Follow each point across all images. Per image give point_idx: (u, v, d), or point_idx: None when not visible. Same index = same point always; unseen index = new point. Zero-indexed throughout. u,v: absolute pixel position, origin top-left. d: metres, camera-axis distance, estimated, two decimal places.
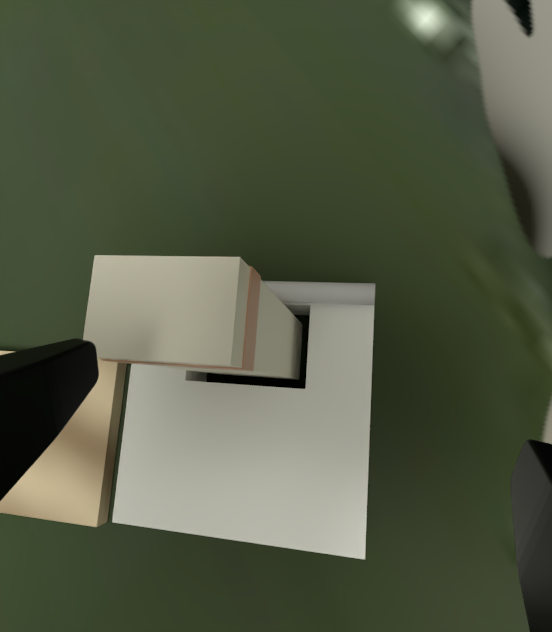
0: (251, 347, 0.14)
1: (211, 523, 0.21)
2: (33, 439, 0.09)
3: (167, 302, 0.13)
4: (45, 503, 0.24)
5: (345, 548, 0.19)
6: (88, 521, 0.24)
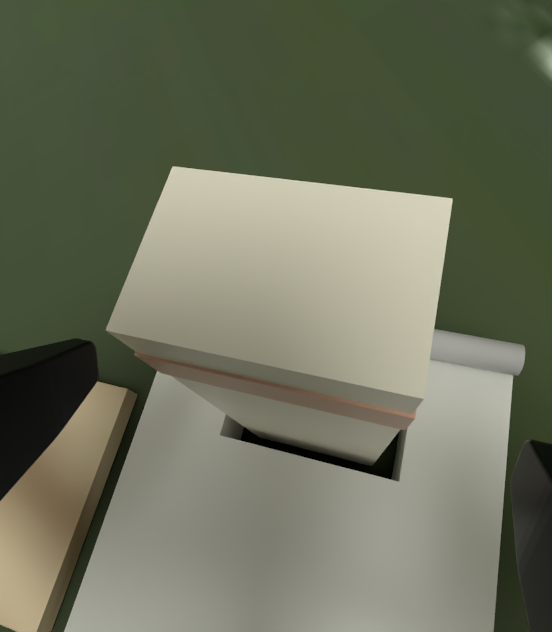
0: None
1: None
2: (33, 439, 0.09)
3: (298, 258, 0.06)
4: None
5: None
6: (24, 626, 0.16)
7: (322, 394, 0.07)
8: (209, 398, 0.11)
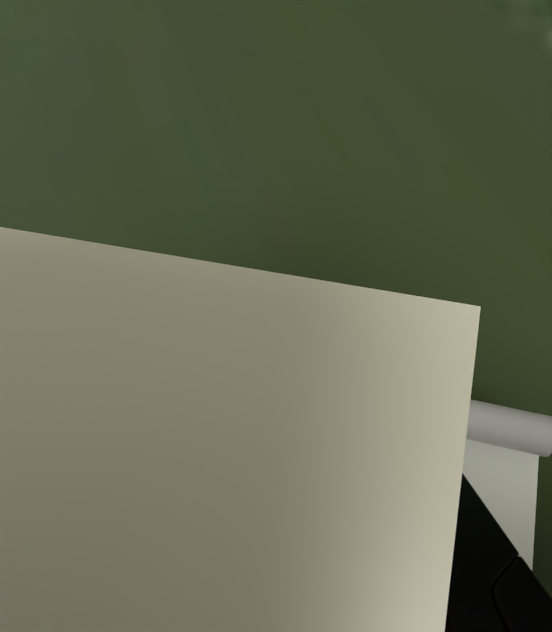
0: None
1: None
2: None
3: (172, 426, 0.03)
4: None
5: None
6: None
7: None
8: None
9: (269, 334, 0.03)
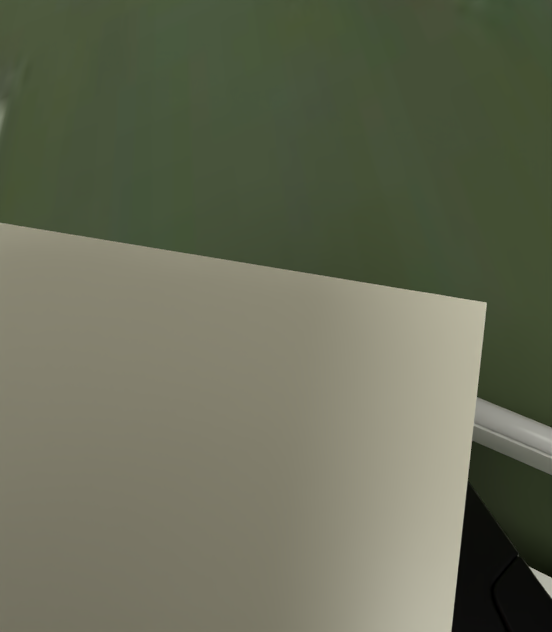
0: None
1: None
2: None
3: (178, 421, 0.03)
4: None
5: None
6: None
7: None
8: None
9: (275, 330, 0.03)
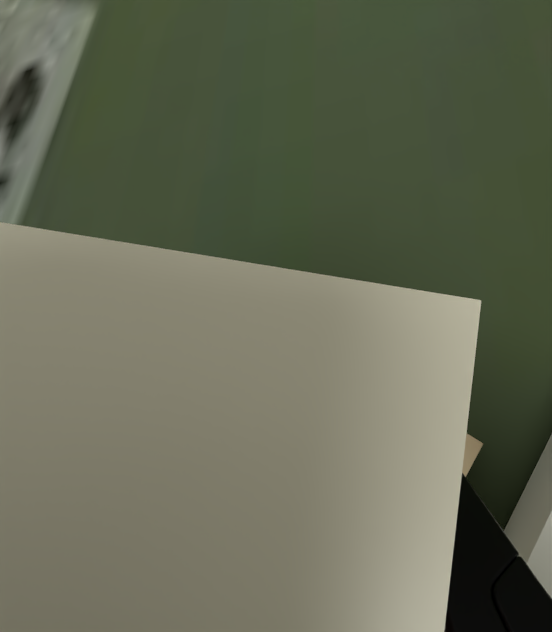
0: None
1: None
2: None
3: (174, 418, 0.03)
4: None
5: None
6: None
7: None
8: None
9: (270, 328, 0.03)
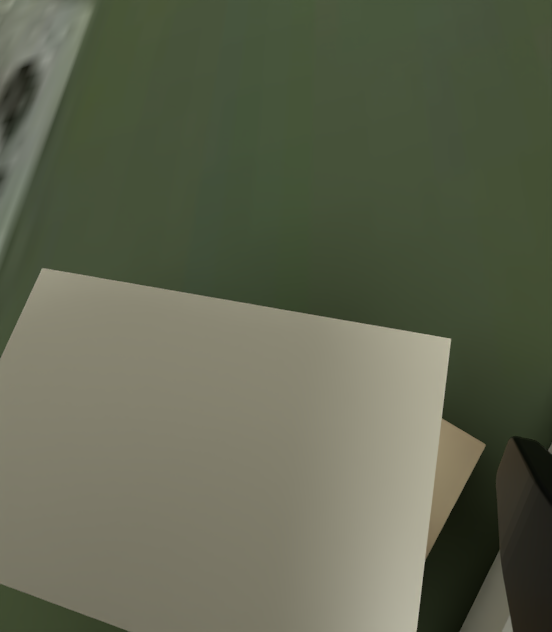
0: None
1: None
2: None
3: (211, 434, 0.04)
4: None
5: None
6: None
7: None
8: None
9: (286, 361, 0.04)
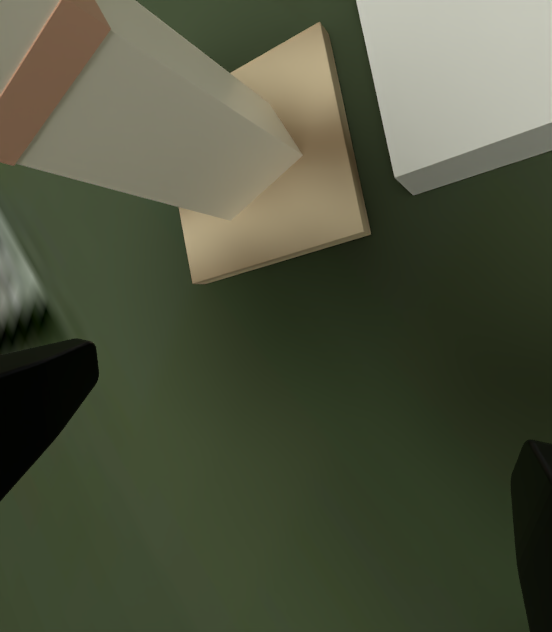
0: None
1: None
2: (33, 439, 0.09)
3: None
4: (289, 234, 0.19)
5: None
6: (350, 229, 0.18)
7: (28, 49, 0.10)
8: (90, 177, 0.14)
9: None
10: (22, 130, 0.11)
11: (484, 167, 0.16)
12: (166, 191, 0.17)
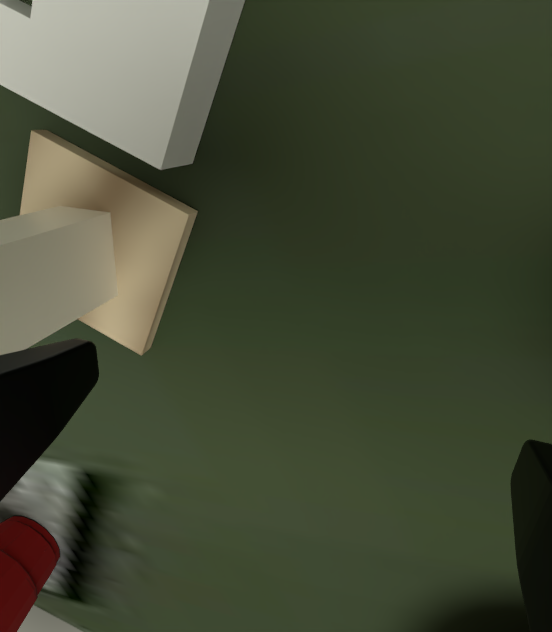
0: None
1: (184, 34, 0.16)
2: (33, 439, 0.09)
3: None
4: (155, 264, 0.23)
5: None
6: (181, 222, 0.22)
7: None
8: None
9: None
10: None
11: (204, 106, 0.19)
12: (53, 320, 0.20)
